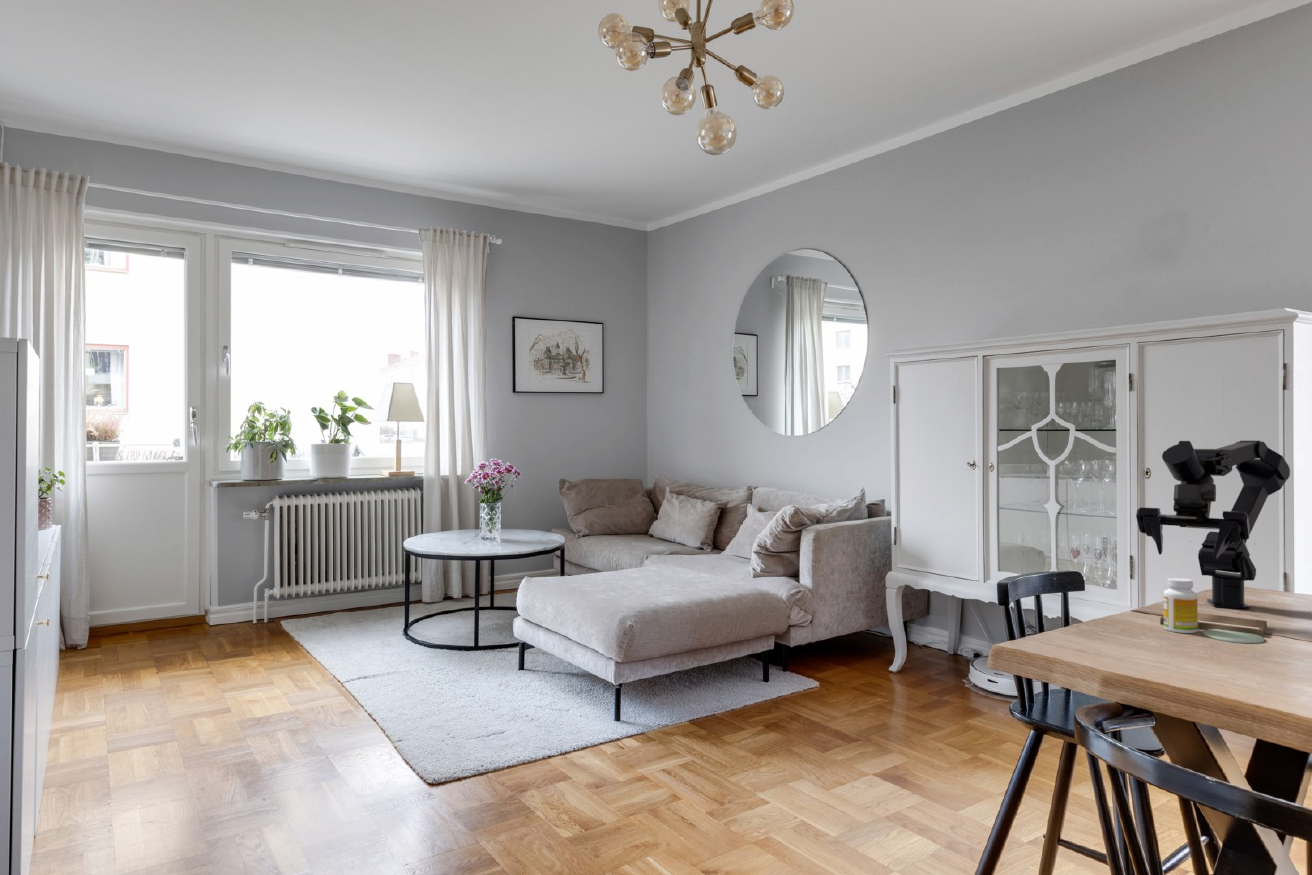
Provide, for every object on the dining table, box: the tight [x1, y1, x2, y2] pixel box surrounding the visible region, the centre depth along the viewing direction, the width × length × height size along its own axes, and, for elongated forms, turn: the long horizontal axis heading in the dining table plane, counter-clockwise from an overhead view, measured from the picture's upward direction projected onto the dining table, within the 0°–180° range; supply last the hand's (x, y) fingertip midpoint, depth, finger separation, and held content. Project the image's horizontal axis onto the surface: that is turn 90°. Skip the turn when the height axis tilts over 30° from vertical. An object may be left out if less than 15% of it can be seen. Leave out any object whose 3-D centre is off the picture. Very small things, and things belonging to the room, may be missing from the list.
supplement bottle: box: [1163, 577, 1199, 634], centre depth 152 cm, size 5×5×10 cm
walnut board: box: [1159, 612, 1268, 637], centre depth 156 cm, size 16×10×1 cm, turn 48°
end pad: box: [1203, 629, 1265, 644], centre depth 147 cm, size 9×9×1 cm
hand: (1186, 555), depth 158 cm, fingers open, 9 cm apart
